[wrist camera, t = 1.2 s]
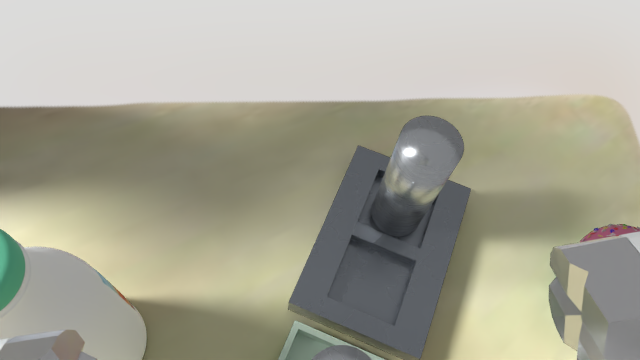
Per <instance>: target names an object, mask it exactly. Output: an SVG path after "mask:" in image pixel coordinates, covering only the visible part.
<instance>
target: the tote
mask: <svg viewBox="0 0 640 360" xmlns="http://www.w3.org/2000/svg"><path fill="white" fill-rule="evenodd" d="M335 345H348V346H352V347H355V346H353V345H351V344H348V343H346V342H344V341H342V340H339V339H337V338H335V337H332V336H330V335H328V334H326V333H323V332H321V331H319V330H316V329H314V328H312V327H310V326H307V325H305V324H303V323H300V322H298V321H296V320H295V321H294V324H293V326H292V328H291V331H290V333H289V335H288V338H287V340H286V342H285V345H284V347H283V349H282V352H281V354H280V356H279V359H278V360H312V358H313V357H314V356H315V355H316V354H318V353H319V352H320V351H322V350H324V349H326V348H328V347H331V346H335ZM355 348H357V349H359V350H361V351H363V352H364V353H366V354H367V355H368V356H369V357H370V358H371V359H372V360H385V359H383V358H381V357H378V356H376V355H374V354H371V353H369V352H367V351H365V350H362V349H360V348H358V347H355Z"/></svg>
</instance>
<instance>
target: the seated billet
mask: <svg viewBox="0 0 640 360" xmlns="http://www.w3.org/2000/svg"><path fill="white" fill-rule="evenodd" d="M463 152H464V143H463V139H462V137H461V135H460V133H459V132H458V130H457V129H456V128H455V127H454V126H453V125H452V124H450V123H449V122H447V121H446V120H444V119H441V118H438V117H434V116H420V117H416V118H414V119H412V120H410V121H409V122H407V123H406V124H405V126H404V127H403V129H402V131H401V133H400V136H399V138H398V141H397V143H396V146H395V148H394V151H393V153H392V156H391V158H390V161H389V164H388V166H387V169H386V171H385V174H384V176H383V179H382V181H381V184H380V186H379V189H378V192H377V194H376V197H375V199H374V202H373V205H372V209H371V213H372V218H373V220H374V222H375V224H376V225H377V227H378V228H379V229H380V230H382V231H383V232H385V233H387V234H389V235H392V236H405V235H408V234H410V233H412V232H413V231H414V230H415V229H416V228H417V227H418V225H419V224H420V222H421V220H422V219H423V217H424V216H425V214H426V213H427V211H428V209H429V208H430V206H431V205H432V203H433V202H434V200H435V199H436V197H437V195H438V194H439V192H440V191H441V189H442V188H443V186H444V184H445V183H446V181H447V180H448V178H449V177H450V175H451V173H452V172H453V170H454V169H455V167H456V166H457V164H458V162H459V161H460V159H461V158H462V155H463Z"/></svg>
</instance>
